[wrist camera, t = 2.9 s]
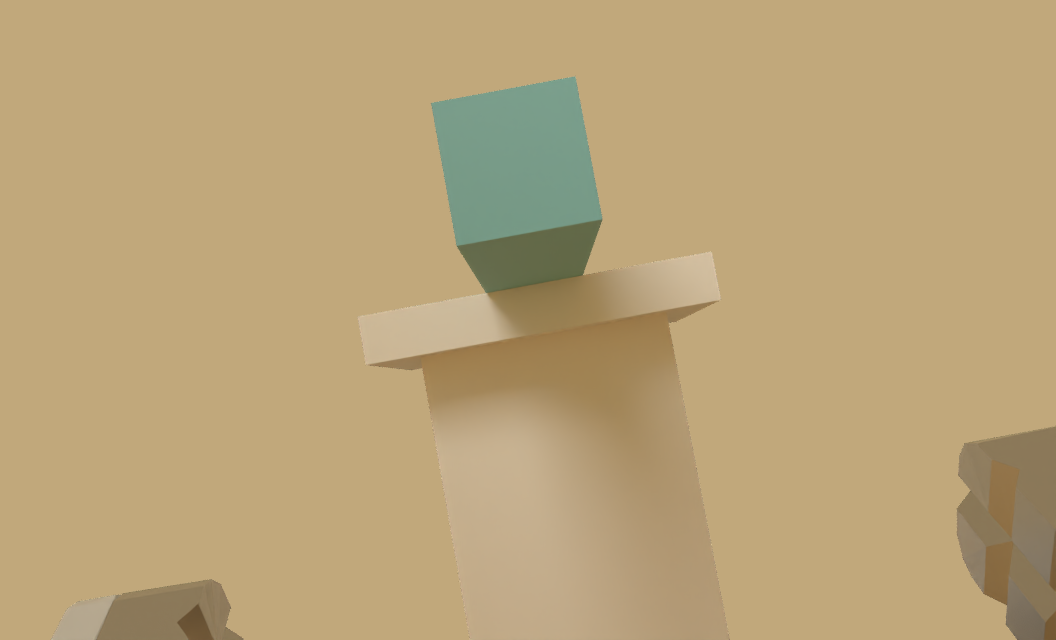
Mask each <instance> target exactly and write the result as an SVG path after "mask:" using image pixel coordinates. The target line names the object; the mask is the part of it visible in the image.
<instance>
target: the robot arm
mask: <svg viewBox="0 0 1056 640" xmlns="http://www.w3.org/2000/svg"><path fill="white" fill-rule="evenodd" d="M958 475H959V477H960V478H961V479H962V480H963V482H964V483H965V484H966V485H967V486H968V488H969V489H970V490H971V491H970V492H969V494H968V495H967V496H966V497H965V499H964V500H963V501H962V503H961V504H960V505H959V507H958V508H957V536H958V540H959V544H960V548H961V552H962V556H963V560H964V561H965V563H966V566H967V568H968V570H969V572H970V574H971V576H972V578H973V579H974V581H975V582H976V583H977V585H978V586H979V588H980V589H981V591H982V592H983V594H985V595H987V596H989V597H992V598H993V599H995V600H997V601H999V602H1001V603H1004V604H1006V605H1007V614H1006V625H1007V627H1008V628H1009V629H1010V631H1011V632H1012V633H1013V635H1014V636H1015V637H1016V639H1017V640H1056V426H1055V427H1050V428H1044V429H1039V430H1033V431H1028V432H1023V433H1018V434H1012V435H1007V436H1001V437H996V438H991V439H986V440H980V441H975V442H969V443H964V446H963V448H962V451H961V453H960V456H959V472H958ZM230 609H231V607H230V604H229V602H228V600H227V597H226V595H225V593H224V591H223V589H222V586H221V584H220V583H218V582H216V581H214V580H204V581H198V582H192V583H186V584H180V585H173V586H167V587H160V588H154V589H148V590H142V591H135V592H129V593H123V594H122V595H113V596H107V597H101V598H95V599H89V600H84V601H78V602H76V603H75V604H74V605H72V606H70V607H69V608H68V609H67V610H66V611H65V613H64V615H63V617H62V619H61V621H60V623H59V625H58V627H57V629H56V631H55V633H54V635H53V637H52V639H51V640H243V638H242V637H240V636H239V635H237V634H236V633H234V632H233V631H231V630H230V629H228V628H226V623H227V620H228V616H229V612H230Z"/></svg>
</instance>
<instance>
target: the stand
mask: <svg viewBox="0 0 1056 640" xmlns="http://www.w3.org/2000/svg"><path fill="white" fill-rule="evenodd" d="M720 300H721V297H720V292H719V287H718V282H717V277H716V271H715V267H714V261H713V256H712V252H707V253H702V254H697V255H691V256H686V257H680V258H675V259H669V260H664V261H659V262H653V263H647V264H642V265H637V266H631V267H626V268H620V269H615V270H609V271H604V272H598V273H593V274H588V275H582V276H577V277H571V278H566V279H560V280H555V281H549V282H544V283H538V284H533V285H528V286H522V287H517V288H511V289H506V290H500V291H495V292H489V293H484V294H478V295H473V296H468V297H462V298H457V299H451V300H446V301H441V302H435V303H429V304H424V305H419V306H413V307H408V308H402V309H397V310H392V311H386V312H380V313H375V314H369V315H364V316H359V317H358V322H359V327H360V333H361V339H362V345H363V351H364V357H365V362H366V365H371V366H379V367H388V368H397V369H405V370H414V369H419V368H422V369H423V374H424V380H425V386H426V391H427V397H428V403H429V409H430V414H431V420H432V426H433V431H434V437H435V443H436V449H437V455H438V460H439V466H440V471H441V477H442V483H443V489H444V495H445V500H446V506H447V512H448V517H449V523H450V528H451V534H452V540H453V546H454V551H455V557H456V562H457V569H458V574H459V580H460V586H461V592H462V597H463V603H464V608H465V615H466V620H467V626H468V632H469V638H470V640H730V639H729V634H728V629H727V623H726V618H725V613H724V608H723V603H722V598H721V592H720V587H719V582H718V577H717V572H716V567H715V561H714V556H713V551H712V546H711V541H710V535H709V531H708V525H707V520H706V515H705V510H704V504H703V500H702V494H701V489H700V484H699V479H698V473H697V468H696V463H695V458H694V453H693V447H692V442H691V437H690V432H689V427H688V422H687V417H686V411H685V406H684V401H683V396H682V391H681V385H680V381H679V375H678V370H677V365H676V359H675V355H674V349H673V344H672V339H671V334H670V328H669V323H671V322H676V321H678V320H680V319H683V318H685V317H687V316H689V315H691V314H693V313H695V312H697V311H699V310H701V309H703V308H705V307H707V306H709V305H711V304H714V303H715V302H718V301H720Z"/></svg>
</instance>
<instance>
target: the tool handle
mask: <svg viewBox="0 0 1056 640" xmlns="http://www.w3.org/2000/svg"><path fill="white" fill-rule="evenodd" d="M431 105H432V109H433V116H434V122H435V127H436V133H437V138H438V144H439V150H440V155H441V161H442V166H443V171H444V177H445V183H446V189H447V194H448V200H449V205H450V211H451V217H452V222H453V228H454V233H455V239H456V245H457V247H458V249H459V250H460V252H461V254H462V255H463V257H464V258H465V260H466V262H467V263H468V265H469V266H470V268H471V270H472V271H473V273H474V274H475V276H476V278H477V279H478V281H479V282H480V284H481V286H482V287H483V289H484V290H485V292H486V293H489V292H495V291H500V290H506V289H511V288H517V287H522V286H528V285H533V284H538V283H544V282H549V281H555V280H560V279H566V278H571V277H577V276H582V275H583V273H584V270H585V267H586V264H587V262H588V259H589V256H590V253H591V250H592V247H593V244H594V242H595V239H596V236H597V233H598V230H599V228H600V225H601V222H602V214H601V209H600V204H599V199H598V193H597V189H596V183H595V178H594V173H593V167H592V162H591V157H590V151H589V146H588V141H587V135H586V130H585V125H584V120H583V114H582V109H581V104H580V99H579V93H578V88H577V83H576V78H575V77H570V78H565V79H559V80H554V81H548V82H543V83H537V84H532V85H527V86H521V87H516V88H510V89H505V90H499V91H494V92H489V93H484V94H478V95H472V96H467V97H462V98H456V99H451V100H445V101H440V102H434V103H431Z"/></svg>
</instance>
